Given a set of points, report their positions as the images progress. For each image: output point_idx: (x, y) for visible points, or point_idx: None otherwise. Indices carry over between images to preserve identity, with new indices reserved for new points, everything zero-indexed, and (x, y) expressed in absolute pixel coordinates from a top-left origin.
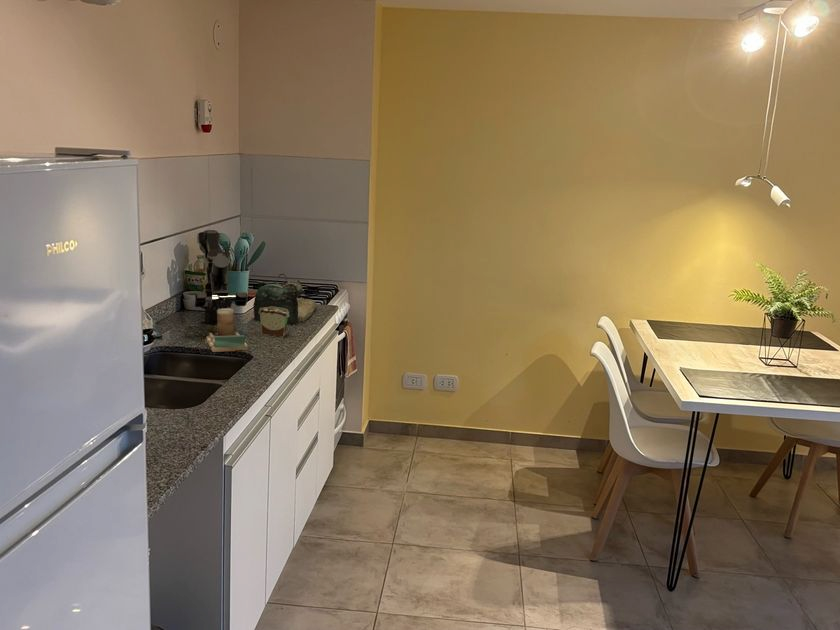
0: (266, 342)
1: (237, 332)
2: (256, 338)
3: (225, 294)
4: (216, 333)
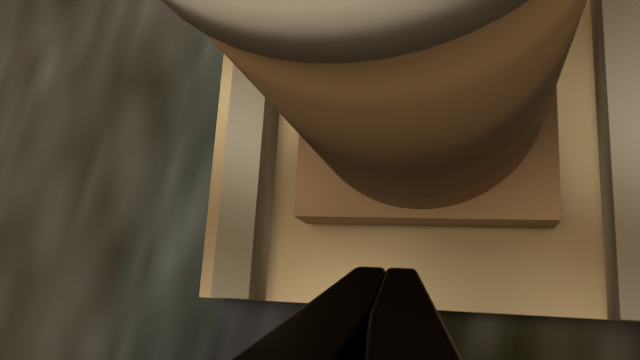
0: (23, 102)
1: (221, 260)
2: (52, 283)
3: None
4: (551, 202)
